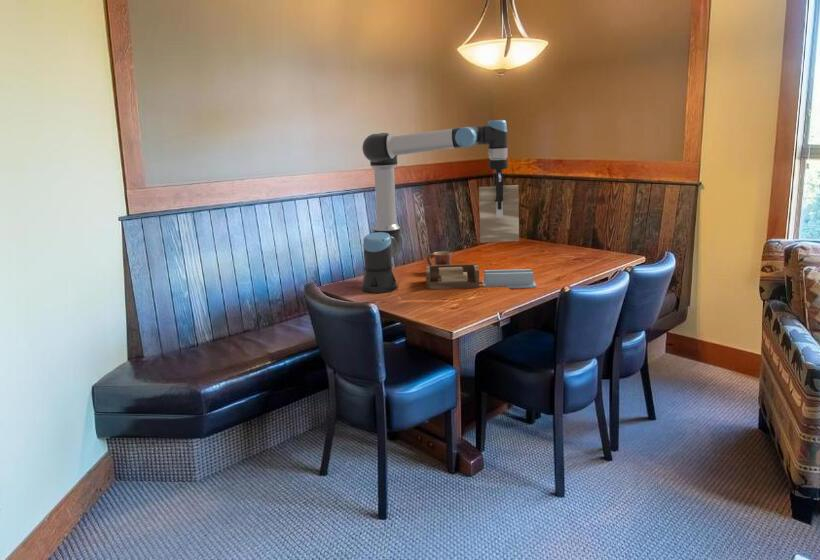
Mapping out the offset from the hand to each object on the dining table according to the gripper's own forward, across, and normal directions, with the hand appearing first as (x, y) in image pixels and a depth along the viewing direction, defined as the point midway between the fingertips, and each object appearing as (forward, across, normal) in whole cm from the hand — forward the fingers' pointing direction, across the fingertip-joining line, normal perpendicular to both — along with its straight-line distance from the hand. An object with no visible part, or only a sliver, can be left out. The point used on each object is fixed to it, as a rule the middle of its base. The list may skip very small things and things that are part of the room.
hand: (499, 216), depth 255 cm
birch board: (+10, 0, 0) cm, 10 cm away
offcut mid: (+26, +2, -20) cm, 32 cm away
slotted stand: (+30, 0, +3) cm, 30 cm away
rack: (+29, 0, -20) cm, 36 cm away
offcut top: (+23, +2, -21) cm, 31 cm away
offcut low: (+28, +2, -20) cm, 35 cm away
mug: (+29, -21, -26) cm, 44 cm away
